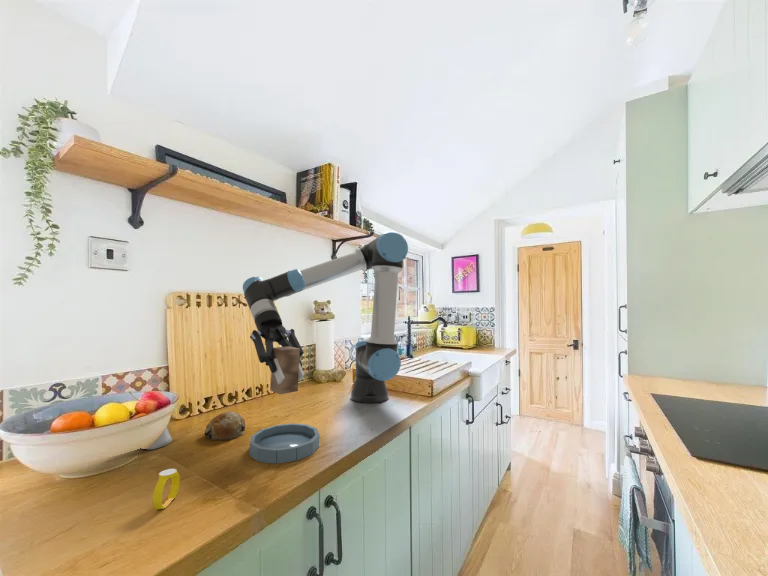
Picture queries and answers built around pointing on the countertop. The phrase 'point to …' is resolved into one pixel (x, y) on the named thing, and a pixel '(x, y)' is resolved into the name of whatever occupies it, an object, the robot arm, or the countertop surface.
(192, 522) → the countertop surface
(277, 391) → the box
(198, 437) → the countertop surface
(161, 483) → the watch
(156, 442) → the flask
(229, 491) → the countertop surface
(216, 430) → the bread roll
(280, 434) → the dish
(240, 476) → the countertop surface
